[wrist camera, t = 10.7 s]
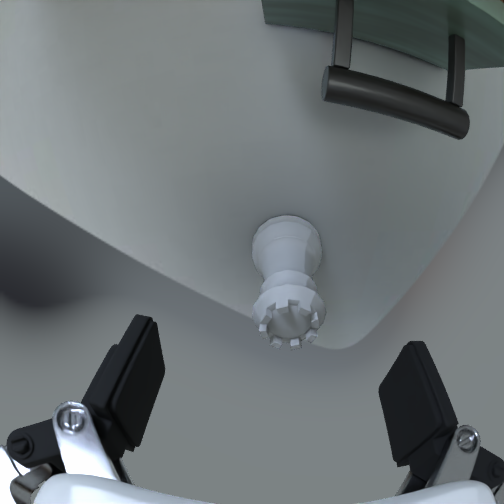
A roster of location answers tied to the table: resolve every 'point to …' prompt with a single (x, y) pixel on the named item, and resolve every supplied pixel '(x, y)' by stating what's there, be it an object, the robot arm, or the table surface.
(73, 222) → the table surface
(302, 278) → the rook chess piece
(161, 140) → the table surface
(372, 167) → the table surface
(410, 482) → the robot arm
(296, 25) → the drawer
